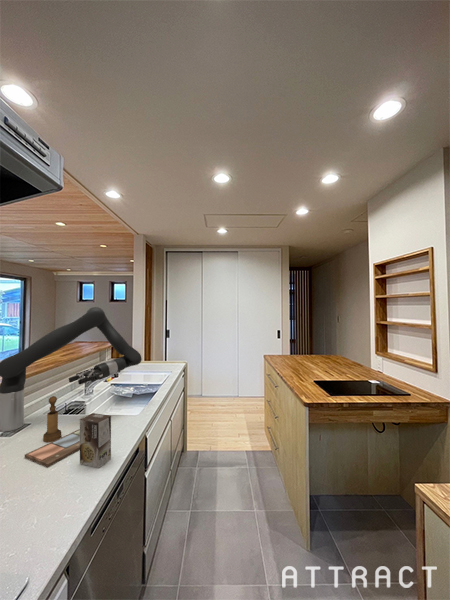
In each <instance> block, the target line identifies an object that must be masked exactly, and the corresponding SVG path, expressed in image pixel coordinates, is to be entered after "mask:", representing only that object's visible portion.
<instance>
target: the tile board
mask: <svg viewBox="0 0 450 600" xmlns="http://www.w3.org/2000/svg"><path fill="white" fill-rule="evenodd" d="M77 452H80V428H78V429H76V430H75V431H72V432H70V433H67V434H65V435H63V436H61V438H59V439H57V440H55V441H53V442H48V443H46V444H45V445H42V446H40V447H38V448H36V449H33V450H32V451H30V452H27V453H26V454H24V459H26V460H28V461H32V462H34V463H36V464H38V465H40V466H43V467H45V468H50V467H52V466H53V465H55V464H57V463H59V462H60V461H63V460H64V459H66V458H68V457H70V456H71V455H74V454H75V453H77Z"/></svg>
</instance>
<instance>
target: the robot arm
mask: <svg viewBox="0 0 450 600" xmlns="http://www.w3.org/2000/svg"><path fill="white" fill-rule="evenodd" d="M94 328H97V329H98V330H99V331H100V332H101V333H102V334H103V336H104V337H105V338H106V341H108V343H109V344H110V345H111V347H112V348H113V349H114V350H115V351H116V352H117V354H118V355H120V357H117V358H114V359H111V360H107V361H104V362H101V363H99V364H96V365H94V366H93V369H86V370H83V371H80V372H78V373H75V375H73V376H71V377H69V378H68V383H73V382H76V381H77V382H78V385H83V384H85V383H90V382H91V383H93V382H96V381H98V380H99V381H100V380H103V379H106V378H108V377H110V376H113V375H114V374H116V373H118V372H121V371H124V370H125V369H127V368H129V367H133V366H137V365H139V364H141V363H142V359H143V358H142V355H141V353H139V351H138V350H136V349H135V348H134V347H132V346H131V345H130V343H128V342H127V340H125V338H124V337H123V336H122V335H121V334H120V333H119V331H118V330H117V329H116V328H115V327H114V326H113V325H112V323H111V322H110V320H109V319H108V318H107V316H106V314H105V311H104V309H102V308H101V307H99V306H93V307H90V308H89V309H87V311H86V313H84V314H83V315H81V317H79V318H78V319H76V320H74V321H73V322H70V323H68V324H64V325H62V326H59V327H57V328H56V329H53V330H51V331H50V332H49V333H47V334H45V335H43V336H42V337H41V338H39V339H38V340H36V341H35V342H33V343H32V344H31V345H29V346H28V347H26V348H25V349H23V350H21V351H19V352H17V353H16V354H13V355H9V356H8V357H6V358H4V359H2V360H1V361H0V377H1V383H0V432H3V433H4V432H5V433H6V432H10V431H14V430H17V429H20V428H22V427H23V426H24V424H25V385H26V379H27V378H26V377H27V368H28V367H29V366H31V365H32V364H34V363H35V362H37V361H39V360H41V359H44V358H45V357H47V356H50V355H51V354H53V353H55V352H56V351H58V350H60V349H62V348H63V347H65V346H66V345H68V344H70V343H72V342H73V341H74V340H76V339H77V338H78V337H79V336H81V335H83V334H84V333H86V332H87V331H90V330H92V329H94ZM121 355H122V356H121Z"/></svg>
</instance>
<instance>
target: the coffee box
mask: <svg viewBox="0 0 450 600" xmlns="http://www.w3.org/2000/svg"><path fill="white" fill-rule="evenodd" d="M79 429H80V450H79V464H81V465H84V466H89V467H92V468H97V469H100V468H101V467H102V466H103V465H105V464H106V463H108V462H109V461H110V460H112V415H110V414H109V415H108V414H102V413H101V414H100V413H94V412H92V413H90V414H88V415H86V416H84V417H83V418H80V419H79Z"/></svg>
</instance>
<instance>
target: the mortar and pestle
mask: <svg viewBox="0 0 450 600" xmlns="http://www.w3.org/2000/svg"><path fill="white" fill-rule="evenodd" d="M57 402H58V398H57V396H54V395H52V396H51V397H48V403H49V404H50V406H49V410H50V411H49V412H47V413H46V414H47V415H46V416H47V418H46V426H47V427H46V431H45V433H44V434H43V435H42V437H43V438H42V440H43V442H44V443H51V442H53V441H55V440H57V439H59V438H61V437H62V430H60V429H59V427H58V426H59V411H58V410H56V405H55V404H56V403H57Z"/></svg>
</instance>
